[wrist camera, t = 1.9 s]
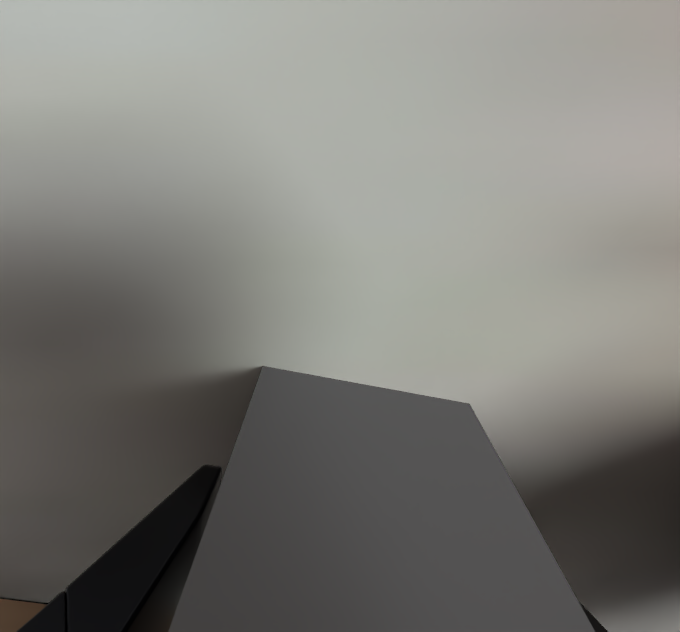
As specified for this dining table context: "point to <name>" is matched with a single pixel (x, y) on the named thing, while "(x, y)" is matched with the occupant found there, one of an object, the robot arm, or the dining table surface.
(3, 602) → the wooden serving tray
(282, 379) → the grey block
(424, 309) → the dining table surface
